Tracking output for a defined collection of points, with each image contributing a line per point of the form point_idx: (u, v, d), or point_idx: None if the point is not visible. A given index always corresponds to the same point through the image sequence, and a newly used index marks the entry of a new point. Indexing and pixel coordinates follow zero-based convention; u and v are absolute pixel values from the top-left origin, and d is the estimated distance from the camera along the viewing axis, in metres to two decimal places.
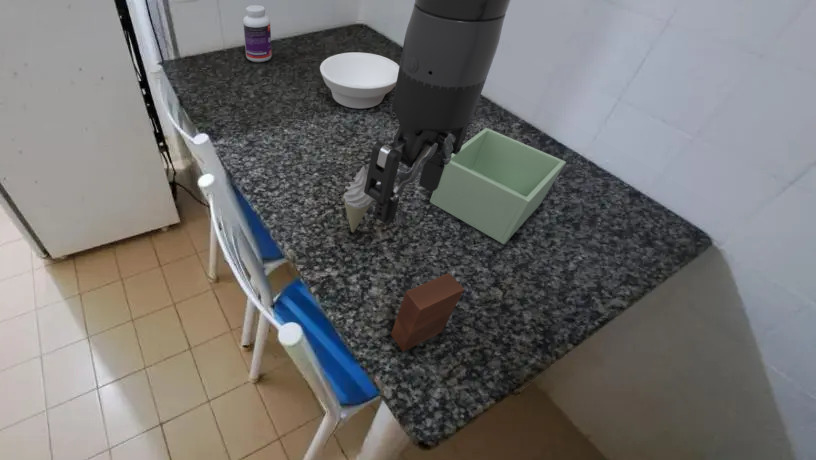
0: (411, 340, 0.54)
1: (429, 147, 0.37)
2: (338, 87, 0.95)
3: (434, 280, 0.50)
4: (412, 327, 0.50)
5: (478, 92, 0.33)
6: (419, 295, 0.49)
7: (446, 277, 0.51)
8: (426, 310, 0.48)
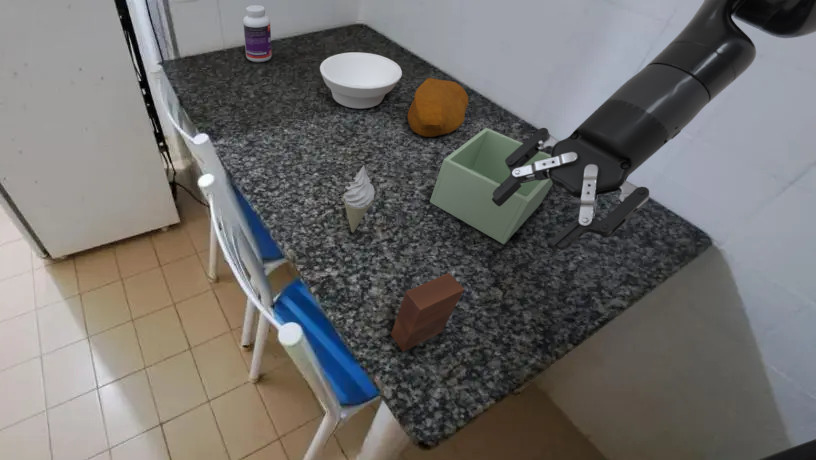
0: (411, 340, 0.54)
1: None
2: (338, 87, 0.95)
3: (434, 280, 0.50)
4: (412, 327, 0.50)
5: (628, 113, 0.41)
6: (419, 295, 0.49)
7: (446, 277, 0.51)
8: (426, 310, 0.48)
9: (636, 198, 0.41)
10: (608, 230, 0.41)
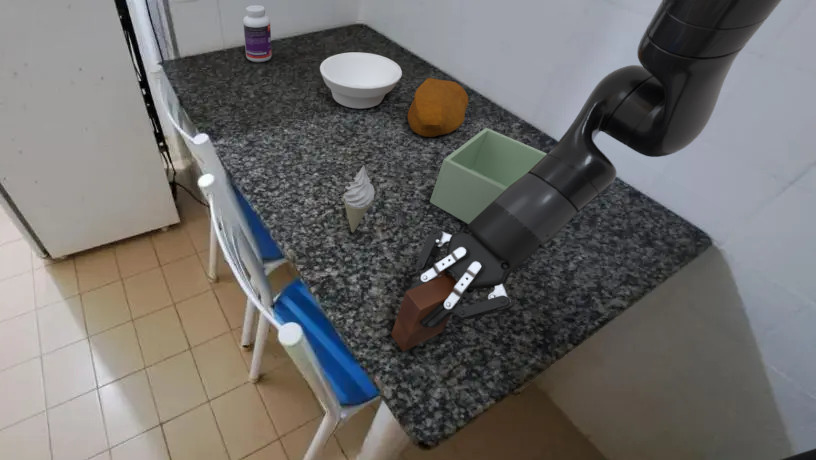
0: (412, 340, 0.54)
1: None
2: (338, 87, 0.95)
3: (434, 280, 0.50)
4: (413, 327, 0.50)
5: (504, 219, 0.44)
6: (419, 295, 0.49)
7: (446, 277, 0.51)
8: (426, 310, 0.48)
9: (496, 303, 0.45)
10: (462, 316, 0.47)
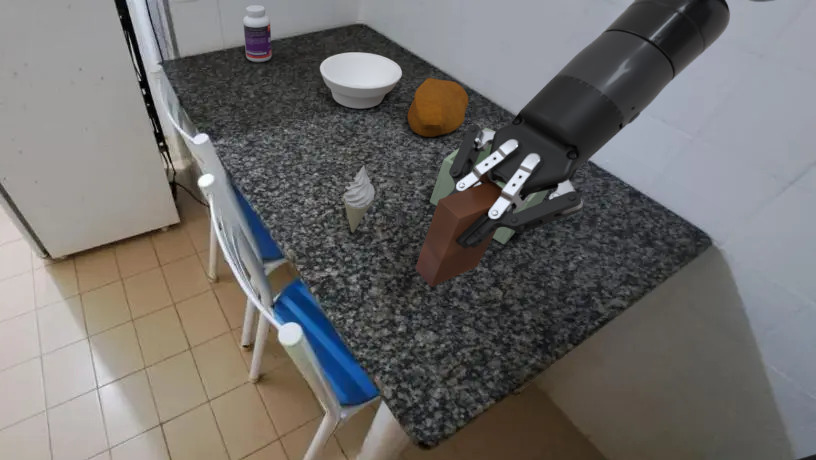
0: (443, 270, 0.43)
1: None
2: (338, 87, 0.95)
3: (474, 188, 0.39)
4: (447, 247, 0.39)
5: (574, 90, 0.33)
6: (456, 203, 0.38)
7: (489, 185, 0.40)
8: (466, 221, 0.38)
9: (562, 202, 0.34)
10: (514, 225, 0.36)
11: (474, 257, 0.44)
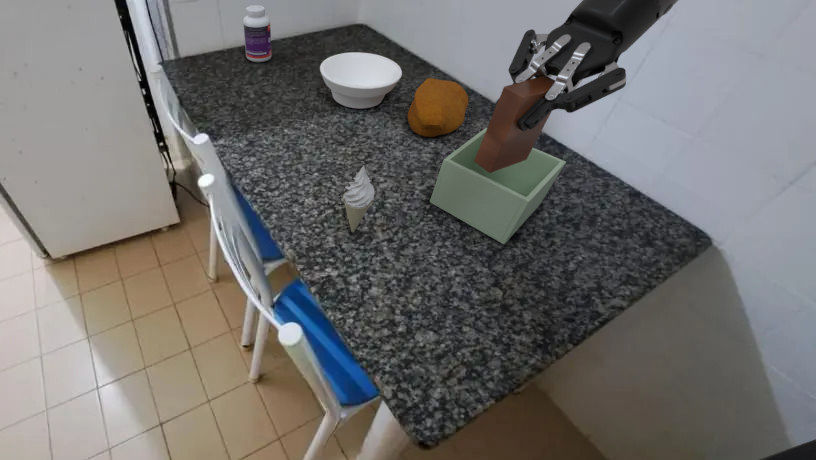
0: (501, 155, 0.51)
1: None
2: (338, 87, 0.95)
3: (531, 79, 0.48)
4: (508, 129, 0.48)
5: None
6: (518, 88, 0.46)
7: (543, 78, 0.48)
8: (527, 103, 0.46)
9: (610, 77, 0.42)
10: (569, 101, 0.44)
11: (526, 147, 0.53)
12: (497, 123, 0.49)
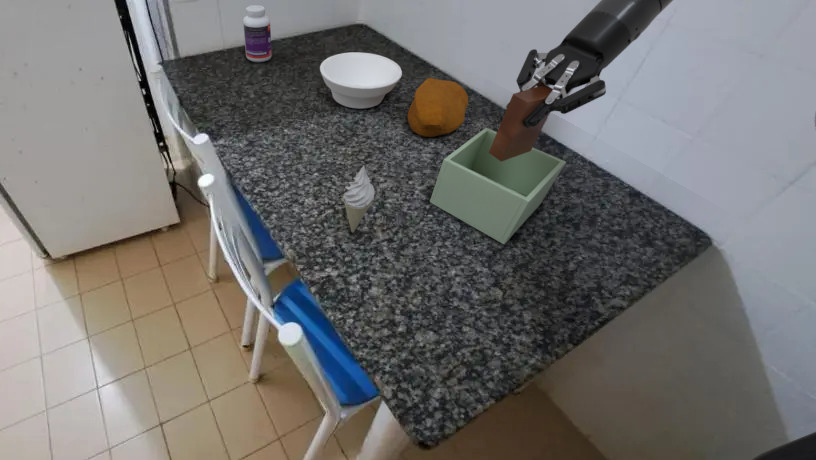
0: (511, 147, 0.65)
1: None
2: (338, 87, 0.95)
3: (534, 88, 0.62)
4: (516, 126, 0.62)
5: (601, 18, 0.55)
6: (524, 95, 0.60)
7: (543, 86, 0.62)
8: (531, 106, 0.60)
9: (593, 87, 0.56)
10: (563, 105, 0.58)
11: (530, 141, 0.66)
12: (507, 122, 0.63)
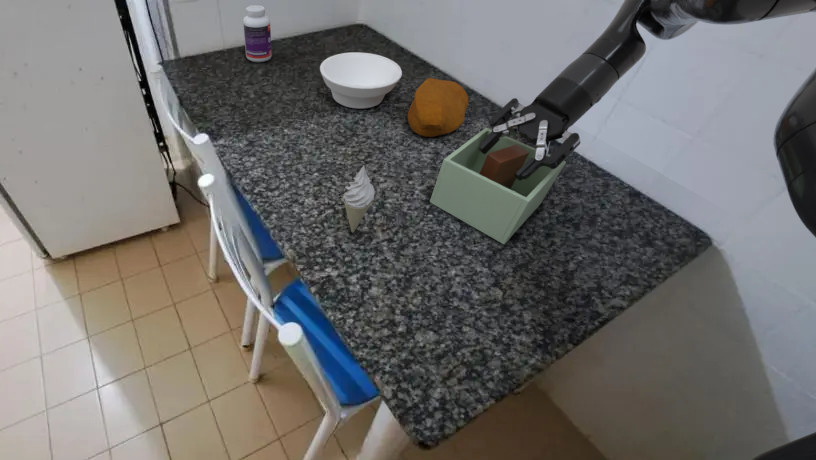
0: None
1: None
2: (338, 87, 0.95)
3: (506, 148, 0.70)
4: None
5: (566, 85, 0.63)
6: (497, 155, 0.68)
7: (515, 146, 0.70)
8: (503, 165, 0.68)
9: (571, 140, 0.62)
10: (553, 162, 0.63)
11: None
12: None
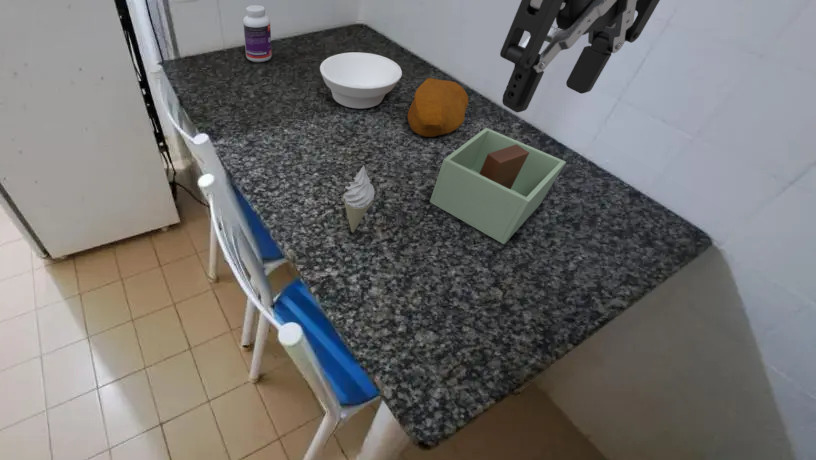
0: None
1: None
2: (338, 87, 0.95)
3: (506, 148, 0.70)
4: None
5: None
6: (497, 155, 0.68)
7: (515, 146, 0.70)
8: (503, 165, 0.68)
9: None
10: None
11: None
12: None
